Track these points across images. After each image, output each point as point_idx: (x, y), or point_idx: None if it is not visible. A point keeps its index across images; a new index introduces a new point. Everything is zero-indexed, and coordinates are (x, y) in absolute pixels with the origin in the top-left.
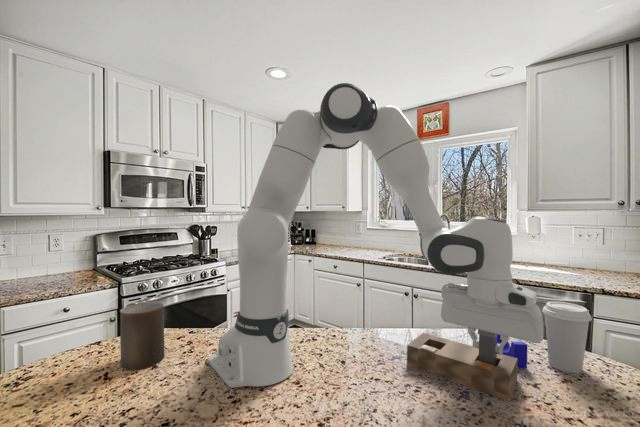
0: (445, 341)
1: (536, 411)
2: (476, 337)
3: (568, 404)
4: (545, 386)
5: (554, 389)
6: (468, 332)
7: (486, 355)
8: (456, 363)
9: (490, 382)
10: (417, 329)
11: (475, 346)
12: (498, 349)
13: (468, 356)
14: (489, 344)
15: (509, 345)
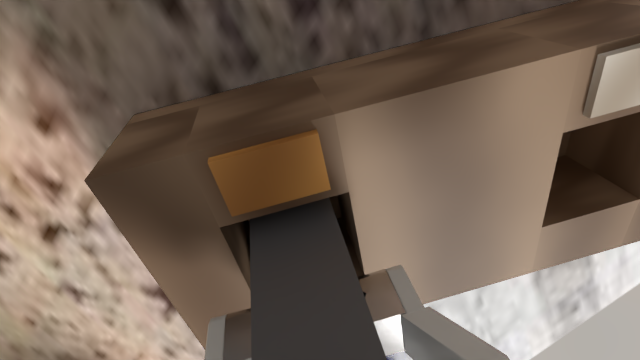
0: (551, 243)
1: (17, 139)
2: (413, 348)
3: (17, 283)
4: (144, 316)
5: (115, 322)
6: (493, 349)
7: (295, 256)
8: (425, 80)
9: (213, 116)
10: (628, 286)
11: (385, 274)
12: (229, 342)
13: (395, 198)
14: (286, 340)
15: None
